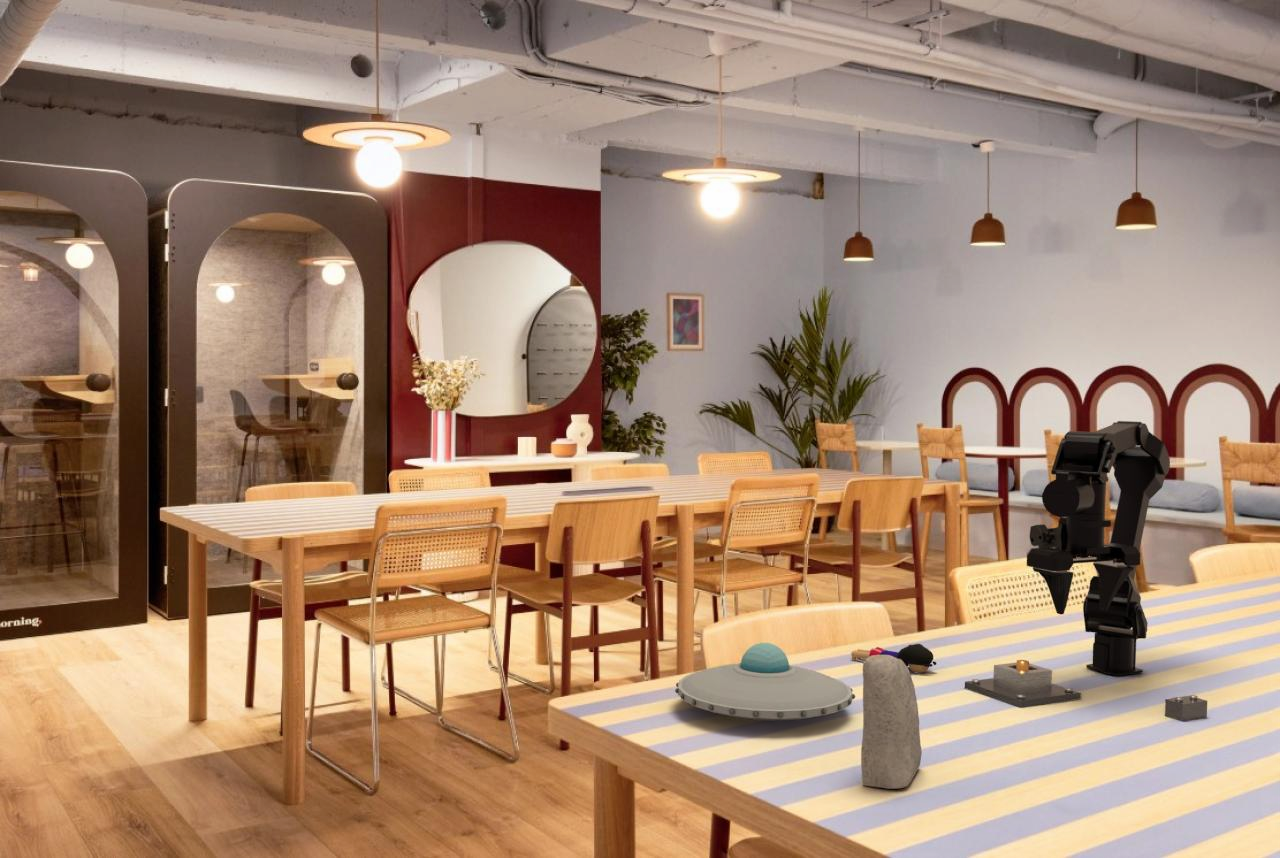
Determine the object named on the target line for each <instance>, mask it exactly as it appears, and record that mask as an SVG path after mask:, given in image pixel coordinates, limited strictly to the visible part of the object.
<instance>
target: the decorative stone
mask: <svg viewBox="0 0 1280 858" xmlns="http://www.w3.org/2000/svg"><path fill="white" fill-rule="evenodd" d="M862 678H863V679H862V682H863V683H862V709H863V711H862V712H863V713H862V714H863V715H862V716H863V717H862V718H863V720H862V721H863V724H862V725H863V726H862V740H861V750H860V751H861V752H860V757H861V758H860V761H861V763H860V767H861V783H862V785H864V786H865V787H873V788H884V789H888V790H891V789H903V788H906V787H908V786H909V784H911V782H912V781H913V778H914V776H915V775H916V773H917V771H918V770H919V768H920V766H921V760H922V745H921V736H920V734H921V733H920V718H919V708H918V702H917V695H916V690H915V689H916V688H915V684H914V681H913V678H912V675H911V672H910V670H909V667H908V666H907V667H906V665H905V664H904V662H903V661H902V660H901V659H897V658H895V657H893V656H890V655H872V656H870V657H868V658H866V659H864V661H863V665H862Z"/></svg>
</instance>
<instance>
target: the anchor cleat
mask: <svg viewBox="0 0 1280 858" xmlns="http://www.w3.org/2000/svg"><path fill="white" fill-rule="evenodd" d="M1164 702H1165V704H1164V716H1165V717H1168V718H1171V719H1175V720H1177V721H1181V722H1185V721H1192V720H1196V719H1197V720H1198V719H1205V718H1207V717H1208V700H1206V699H1202V698H1199V697H1198V695H1194V694H1189V695H1184V696H1176V697H1171V698H1165V701H1164Z"/></svg>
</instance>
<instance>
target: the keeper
mask: <svg viewBox="0 0 1280 858" xmlns="http://www.w3.org/2000/svg"><path fill="white" fill-rule="evenodd" d="M1016 662H1017V667H1016V669H1017V670H1020V671H1028V670H1029V663H1030V661H1029V660H1027V659H1017V660H1016ZM993 681H994V677H991V678H984V679H978V678H977V679H975V678H974V679H971V680H968V681H964V689H967V690H969V691H971V692H974V693H975V692H976V693H977V694H979V695H980V694H981V695H983V696H986V697H989V698H993V699H995V700H998V701H1001V702H1003V703H1006V704H1009V705H1013V706H1014V707H1015V706H1016V707H1018V708H1026V707H1028V708H1029V707H1033V706H1035V707H1036V706H1042V705H1049V704H1056V703H1063V702H1070V701H1076V700H1077V701H1078V700H1081V697H1082V693H1081V691H1077V690H1074V688H1071V687H1065V686H1062V685H1059V684H1055V683H1052V687H1051V690H1046V691H1039V692H1031V693H1024V694H1020V693H1017V692H1015V691H1012V690H1009V689H1006V688H1003V687H1000V686H997V685H994V684H993Z"/></svg>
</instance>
